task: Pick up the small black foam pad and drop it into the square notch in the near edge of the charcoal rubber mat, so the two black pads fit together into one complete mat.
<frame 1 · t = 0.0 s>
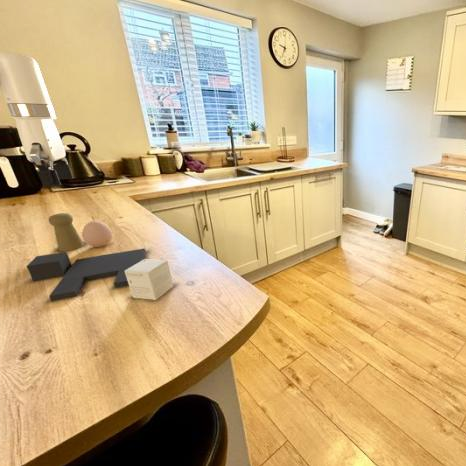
hand: (59, 182, 76), 22 cm above the counter, tool pointing down, fingers open, 9 cm apart
egg: (101, 246, 92), on the counter
foam pad: (54, 273, 76), on the counter
product box: (154, 292, 69), on the counter
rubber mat: (105, 273, 76), on the counter
olive pepper mill: (72, 247, 91), on the counter
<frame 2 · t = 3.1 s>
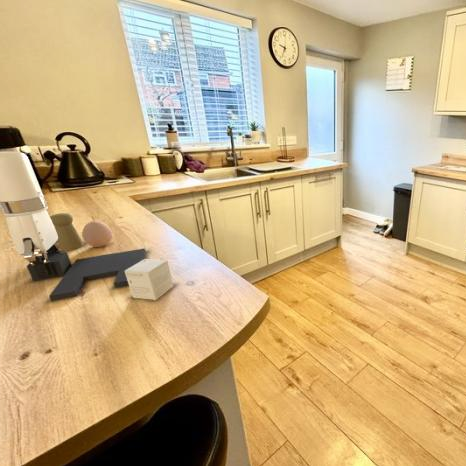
hand: (52, 270, 75), 1 cm above the counter, tool pointing down, fingers closed on foam pad, 6 cm apart
foam pad: (54, 273, 76), on the counter, touching gripper
everything else where it was.
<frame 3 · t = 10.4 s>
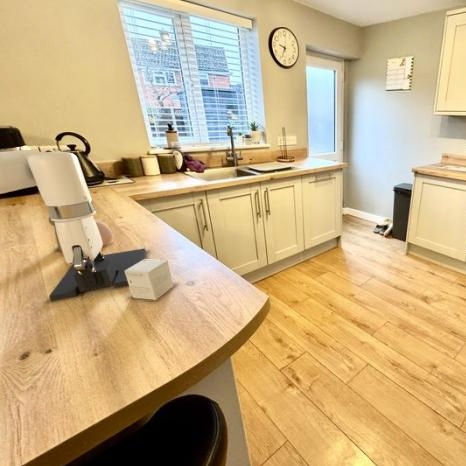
hand: (97, 279, 70), 2 cm above the counter, tool pointing down, fingers closed on foam pad, 5 cm apart
foam pad: (99, 282, 71), point 1 cm above the counter, touching gripper
everything else where it was.
when the fingers open (2 cm above the counter, at t = 11.6 s): foam pad stays where it is, on the counter.
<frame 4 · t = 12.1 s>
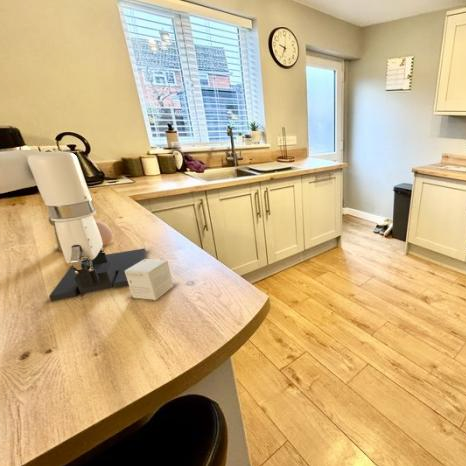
hand: (97, 276, 70), 2 cm above the counter, tool pointing down, fingers open, 9 cm apart
foam pad: (100, 285, 71), on the counter
everything else where it was.
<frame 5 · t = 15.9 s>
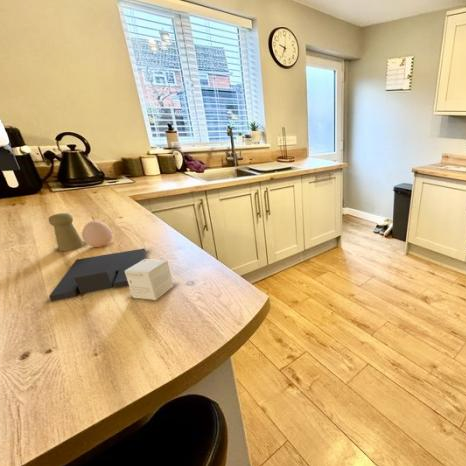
hand: (0, 173, 66), 26 cm above the counter, tool pointing down, fingers open, 9 cm apart
nothing on the counter moved.
at the end: foam pad 0.0 cm from the target spot, on the counter; foam pad tilted 0°; the gripper is holding nothing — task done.
